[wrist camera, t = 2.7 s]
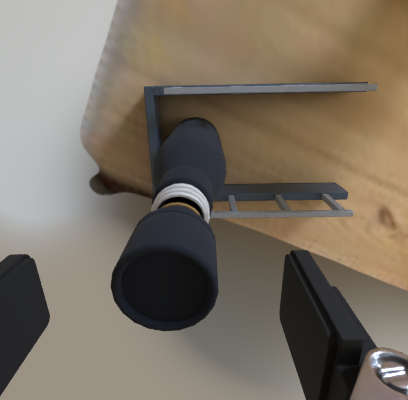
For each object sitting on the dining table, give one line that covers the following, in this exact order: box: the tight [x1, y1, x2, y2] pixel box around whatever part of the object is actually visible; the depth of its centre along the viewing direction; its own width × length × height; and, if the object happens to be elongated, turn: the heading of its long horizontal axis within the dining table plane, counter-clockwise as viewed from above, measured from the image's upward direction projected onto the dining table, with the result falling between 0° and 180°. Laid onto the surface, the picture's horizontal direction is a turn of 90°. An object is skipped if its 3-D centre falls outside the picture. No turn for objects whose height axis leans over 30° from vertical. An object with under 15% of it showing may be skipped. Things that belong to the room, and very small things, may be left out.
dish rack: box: [144, 82, 378, 218], centre depth 33 cm, size 25×14×10 cm, turn 91°
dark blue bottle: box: [111, 117, 226, 331], centre depth 24 cm, size 6×6×30 cm
